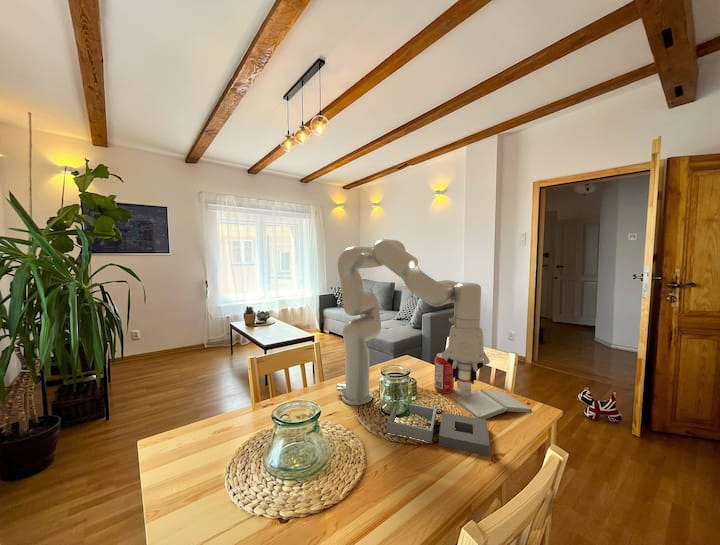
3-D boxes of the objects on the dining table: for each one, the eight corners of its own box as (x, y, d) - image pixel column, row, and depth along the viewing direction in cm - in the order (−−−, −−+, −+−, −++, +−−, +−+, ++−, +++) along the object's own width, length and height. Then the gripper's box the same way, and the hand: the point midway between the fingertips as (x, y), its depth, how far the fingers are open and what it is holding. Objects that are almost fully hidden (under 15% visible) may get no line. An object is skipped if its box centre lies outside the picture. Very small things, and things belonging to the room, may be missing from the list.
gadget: (502, 394, 123) (502, 385, 123) (532, 413, 108) (532, 403, 108) (453, 401, 117) (454, 392, 116) (478, 422, 102) (479, 412, 102)
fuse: (456, 395, 91) (457, 364, 91) (456, 389, 95) (457, 359, 94) (470, 398, 90) (472, 366, 89) (470, 392, 94) (472, 361, 93)
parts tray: (386, 434, 94) (387, 422, 94) (396, 412, 107) (396, 401, 107) (431, 443, 90) (432, 431, 89) (436, 419, 103) (436, 408, 103)
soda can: (433, 392, 123) (434, 357, 122) (434, 384, 130) (435, 351, 129) (453, 395, 120) (454, 359, 119) (453, 387, 128) (454, 353, 127)
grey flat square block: (438, 445, 89) (438, 435, 89) (442, 420, 102) (442, 412, 102) (489, 456, 84) (489, 446, 84) (486, 428, 97) (486, 419, 97)
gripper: (437, 323, 90) (435, 381, 91) (497, 328, 85) (494, 390, 86) (439, 318, 97) (437, 372, 99) (495, 322, 92) (492, 380, 93)
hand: (464, 380), depth 92 cm, fingers closed on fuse, 4 cm apart
